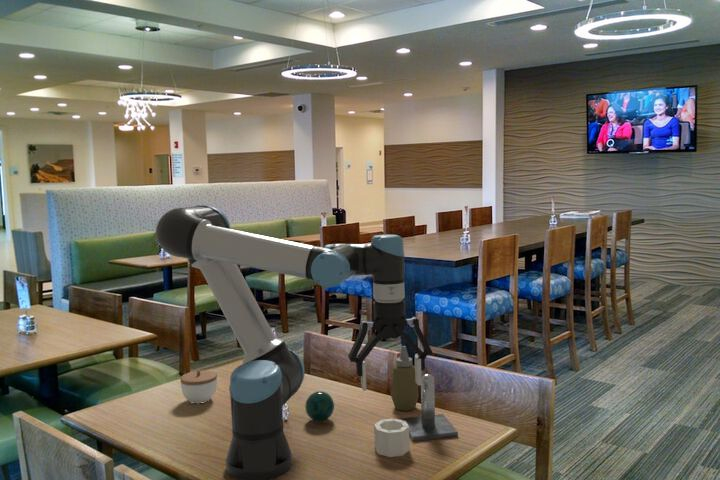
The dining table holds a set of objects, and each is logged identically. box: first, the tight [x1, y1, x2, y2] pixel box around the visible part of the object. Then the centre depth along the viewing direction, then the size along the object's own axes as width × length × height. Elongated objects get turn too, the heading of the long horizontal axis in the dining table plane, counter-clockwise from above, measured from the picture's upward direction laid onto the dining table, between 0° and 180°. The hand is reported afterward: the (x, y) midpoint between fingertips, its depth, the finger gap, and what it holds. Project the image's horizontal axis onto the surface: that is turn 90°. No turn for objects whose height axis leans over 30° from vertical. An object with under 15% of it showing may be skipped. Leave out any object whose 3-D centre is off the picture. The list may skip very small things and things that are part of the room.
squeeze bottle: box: [390, 345, 420, 412], centre depth 170 cm, size 8×8×18 cm
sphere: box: [304, 390, 335, 422], centre depth 163 cm, size 8×8×8 cm
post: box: [399, 373, 459, 442], centre depth 155 cm, size 12×12×15 cm
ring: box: [373, 418, 410, 458], centre depth 145 cm, size 8×8×6 cm
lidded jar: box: [179, 369, 218, 403], centre depth 181 cm, size 11×11×9 cm
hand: (391, 386), depth 143 cm, fingers open, 13 cm apart
